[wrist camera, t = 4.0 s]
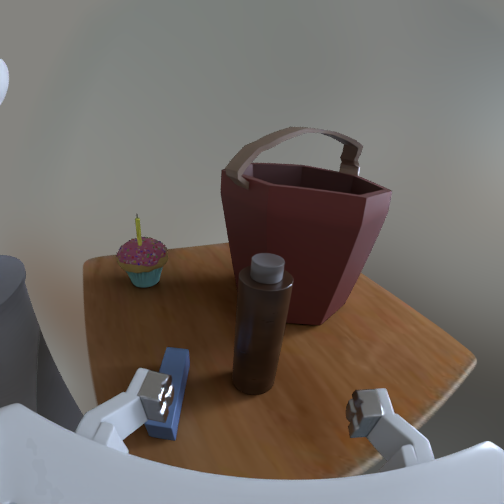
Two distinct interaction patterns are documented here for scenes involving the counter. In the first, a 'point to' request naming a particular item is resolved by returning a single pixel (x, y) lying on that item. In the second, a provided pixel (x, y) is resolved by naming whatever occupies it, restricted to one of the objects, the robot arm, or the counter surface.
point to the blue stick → (178, 367)
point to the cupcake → (142, 259)
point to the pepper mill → (260, 322)
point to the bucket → (304, 221)
